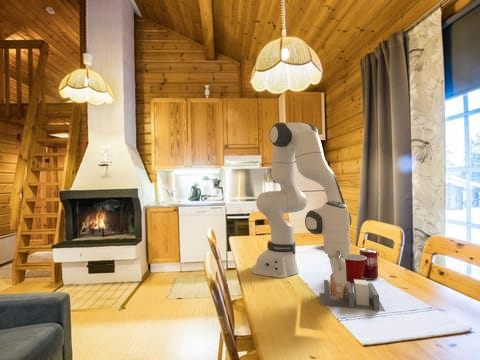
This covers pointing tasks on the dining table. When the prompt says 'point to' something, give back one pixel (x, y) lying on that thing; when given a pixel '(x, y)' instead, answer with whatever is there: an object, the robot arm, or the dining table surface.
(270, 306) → the dining table surface
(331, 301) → the grey slotted rack
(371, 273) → the soda can
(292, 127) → the robot arm
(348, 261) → the plastic cup
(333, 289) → the orange block
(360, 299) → the cream rectangular block
